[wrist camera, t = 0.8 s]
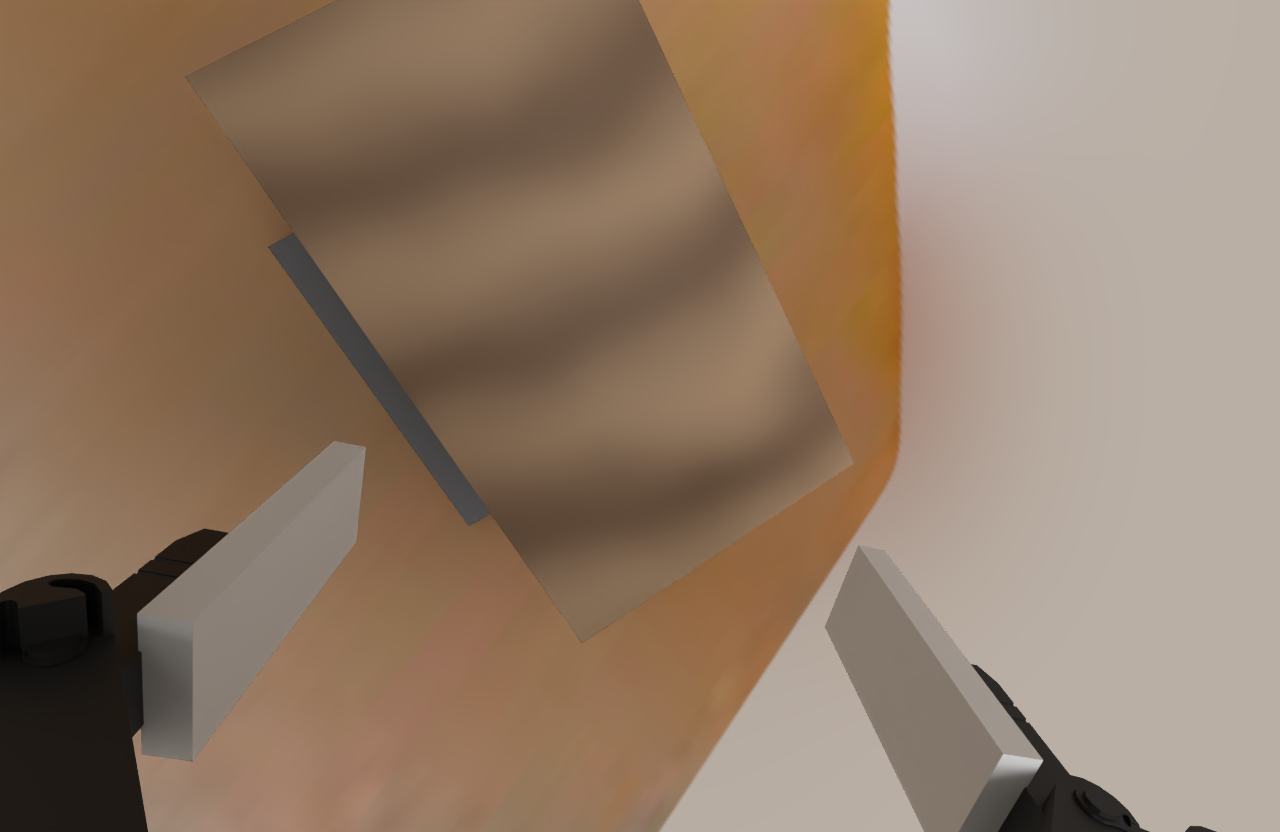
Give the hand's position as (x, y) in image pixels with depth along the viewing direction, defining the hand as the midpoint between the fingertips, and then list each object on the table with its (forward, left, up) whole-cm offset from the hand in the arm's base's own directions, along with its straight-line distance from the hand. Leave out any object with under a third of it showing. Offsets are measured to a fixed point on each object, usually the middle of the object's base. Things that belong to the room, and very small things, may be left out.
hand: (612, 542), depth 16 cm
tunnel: (-5, +3, -21) cm, 22 cm away
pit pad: (-5, -5, -21) cm, 22 cm away
